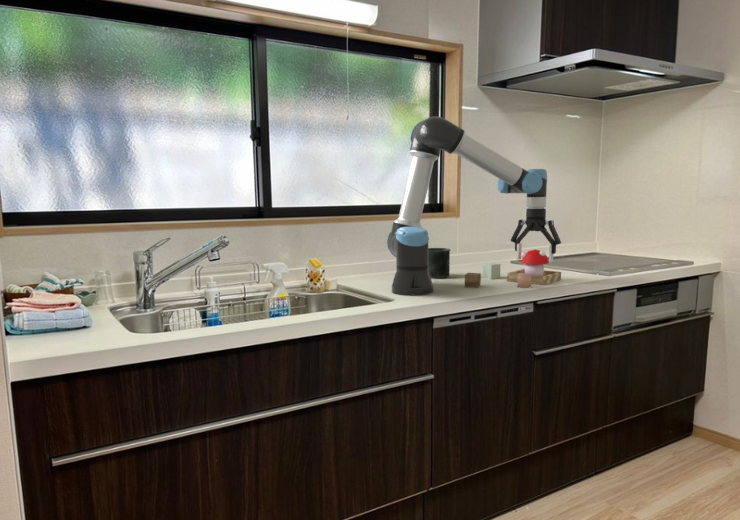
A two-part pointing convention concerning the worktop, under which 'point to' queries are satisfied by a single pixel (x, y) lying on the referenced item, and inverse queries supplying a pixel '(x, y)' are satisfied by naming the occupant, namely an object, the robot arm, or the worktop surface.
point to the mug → (438, 262)
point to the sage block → (491, 271)
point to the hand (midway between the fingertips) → (534, 260)
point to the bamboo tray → (536, 277)
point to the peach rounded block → (524, 280)
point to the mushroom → (534, 262)
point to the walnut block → (473, 280)
